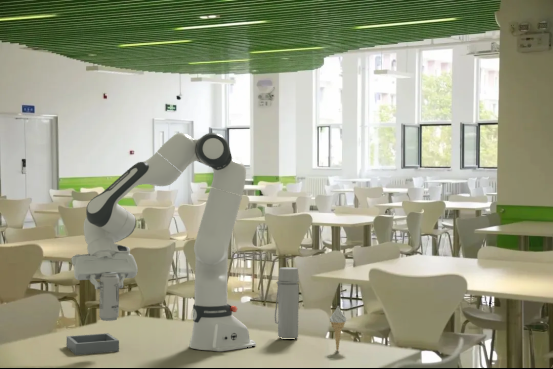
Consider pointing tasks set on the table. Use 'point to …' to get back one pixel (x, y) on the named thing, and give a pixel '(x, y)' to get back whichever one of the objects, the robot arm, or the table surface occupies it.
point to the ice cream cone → (337, 324)
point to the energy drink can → (109, 296)
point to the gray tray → (92, 343)
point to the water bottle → (287, 302)
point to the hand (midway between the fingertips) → (109, 287)
